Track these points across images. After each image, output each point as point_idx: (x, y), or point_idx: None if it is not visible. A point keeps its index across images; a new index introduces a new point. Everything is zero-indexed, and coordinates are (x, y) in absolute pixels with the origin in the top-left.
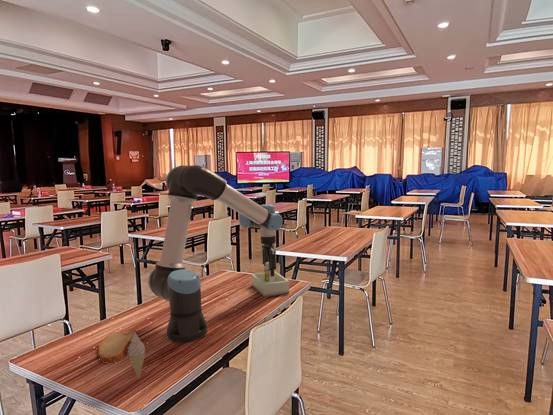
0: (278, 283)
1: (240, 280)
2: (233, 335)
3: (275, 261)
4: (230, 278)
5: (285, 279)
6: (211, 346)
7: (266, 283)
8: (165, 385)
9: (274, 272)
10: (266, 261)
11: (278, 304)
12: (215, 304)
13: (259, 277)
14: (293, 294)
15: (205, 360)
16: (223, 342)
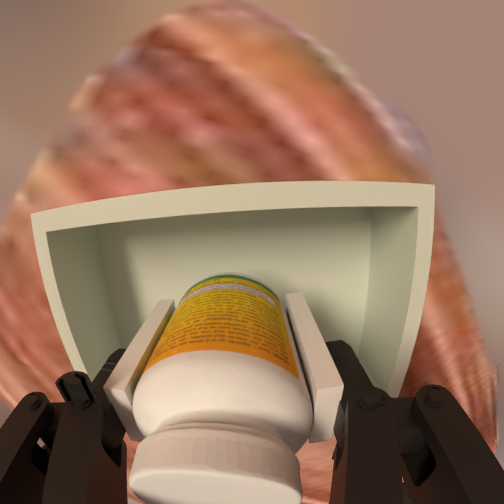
0: (420, 297)
1: (49, 375)
2: (489, 417)
3: (501, 479)
4: (31, 392)
5: (384, 197)
6: (483, 438)
7: (140, 292)
8: (492, 449)
9: (272, 330)
10: (115, 493)
11: (470, 305)
12: (316, 483)
13: (101, 354)
14: (413, 171)
15: (497, 432)
16: (489, 426)
